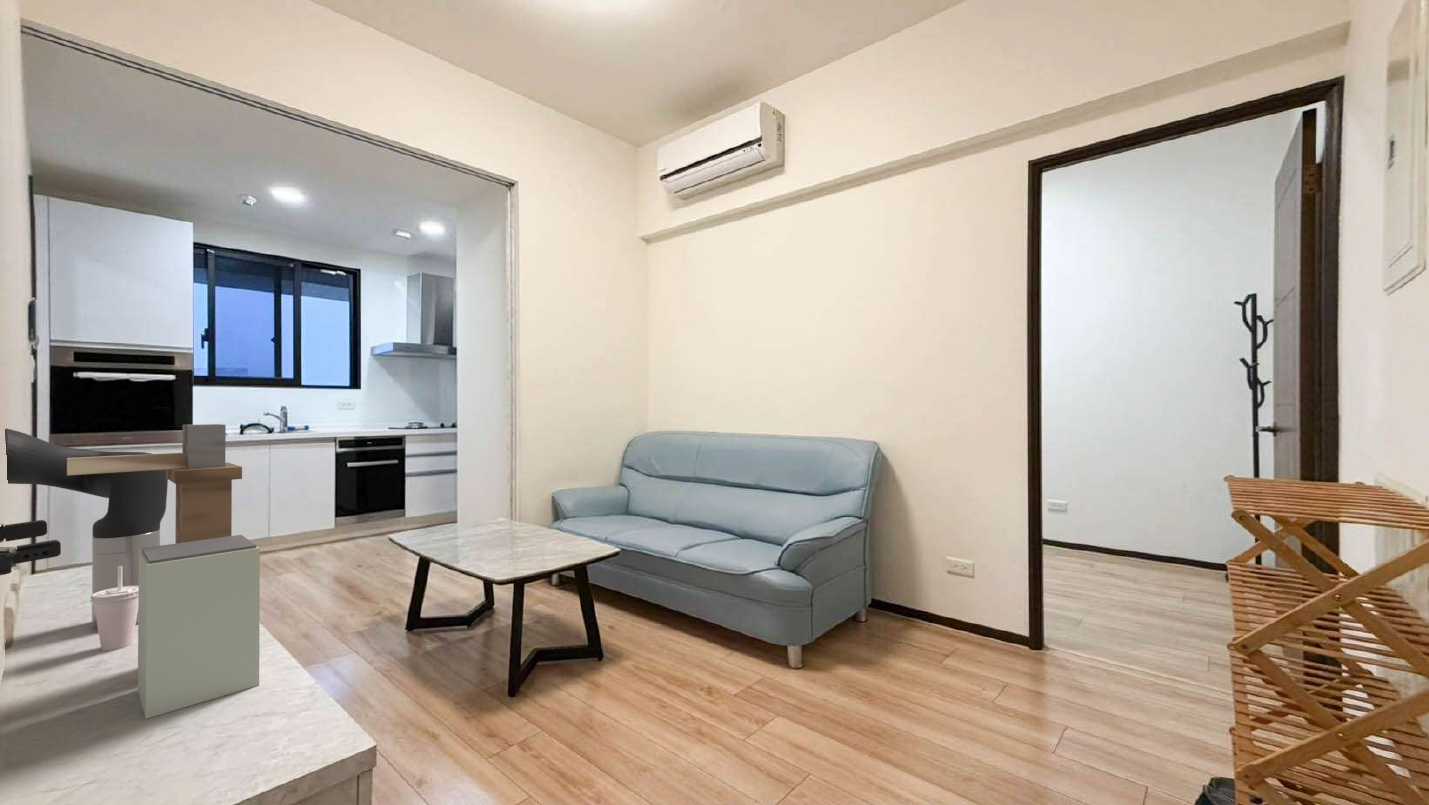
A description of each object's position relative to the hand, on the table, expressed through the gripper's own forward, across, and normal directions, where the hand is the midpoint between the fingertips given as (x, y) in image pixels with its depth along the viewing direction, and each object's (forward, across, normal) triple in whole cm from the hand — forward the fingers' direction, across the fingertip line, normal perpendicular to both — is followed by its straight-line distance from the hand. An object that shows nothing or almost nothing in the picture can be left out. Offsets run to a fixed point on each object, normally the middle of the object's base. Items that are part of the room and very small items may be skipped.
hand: (53, 537), depth 79 cm
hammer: (+10, -4, +7) cm, 13 cm away
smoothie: (+9, -15, -28) cm, 33 cm away
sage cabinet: (+12, +16, -21) cm, 29 cm away
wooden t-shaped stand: (+15, +4, -24) cm, 29 cm away
